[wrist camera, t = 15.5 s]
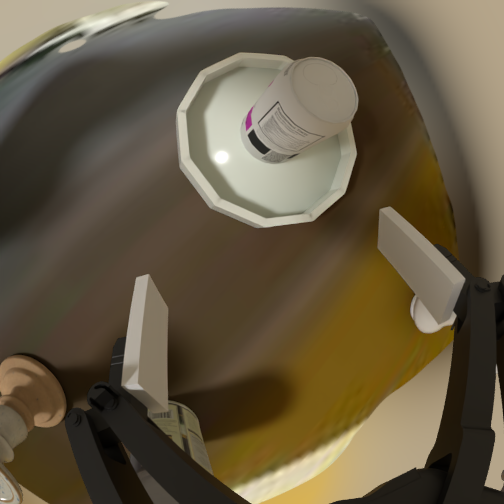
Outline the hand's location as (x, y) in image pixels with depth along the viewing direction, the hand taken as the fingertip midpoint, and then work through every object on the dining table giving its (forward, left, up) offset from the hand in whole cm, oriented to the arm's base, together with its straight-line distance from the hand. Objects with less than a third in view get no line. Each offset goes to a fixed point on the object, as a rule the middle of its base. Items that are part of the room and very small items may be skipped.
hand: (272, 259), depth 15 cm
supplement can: (-7, +15, -21) cm, 26 cm away
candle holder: (-1, -35, -22) cm, 41 cm away
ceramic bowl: (-7, +15, -22) cm, 27 cm away
